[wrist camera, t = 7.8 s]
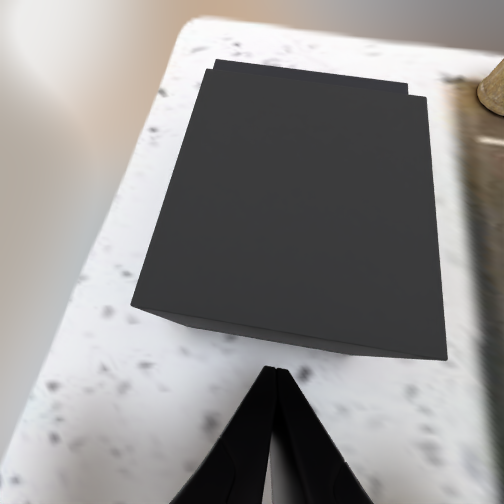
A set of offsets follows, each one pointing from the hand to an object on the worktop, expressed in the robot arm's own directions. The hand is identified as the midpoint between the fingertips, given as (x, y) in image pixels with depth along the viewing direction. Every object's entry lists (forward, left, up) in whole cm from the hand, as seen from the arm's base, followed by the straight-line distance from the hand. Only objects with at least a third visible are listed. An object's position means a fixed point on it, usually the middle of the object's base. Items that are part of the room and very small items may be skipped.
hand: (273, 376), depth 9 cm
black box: (+7, -1, -6) cm, 9 cm away
